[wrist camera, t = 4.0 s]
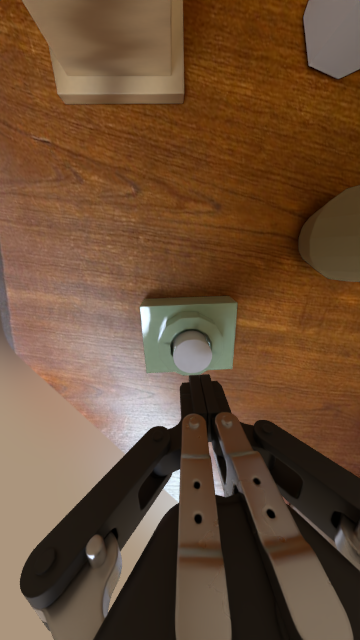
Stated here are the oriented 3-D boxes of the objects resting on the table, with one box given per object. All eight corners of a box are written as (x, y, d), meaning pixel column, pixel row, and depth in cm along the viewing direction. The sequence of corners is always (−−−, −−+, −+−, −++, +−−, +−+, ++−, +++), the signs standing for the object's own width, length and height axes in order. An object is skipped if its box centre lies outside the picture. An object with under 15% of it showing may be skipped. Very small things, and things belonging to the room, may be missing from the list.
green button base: (149, 358, 25) (144, 383, 21) (143, 298, 23) (136, 312, 18) (225, 354, 26) (237, 378, 21) (228, 295, 23) (243, 307, 18)
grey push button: (173, 362, 20) (174, 374, 18) (172, 330, 19) (172, 340, 17) (207, 360, 20) (211, 372, 19) (208, 329, 19) (212, 338, 17)
